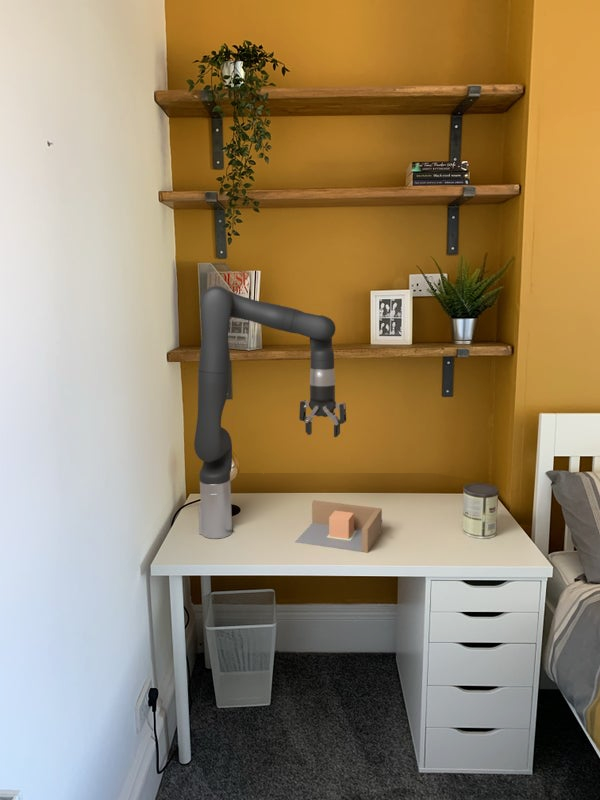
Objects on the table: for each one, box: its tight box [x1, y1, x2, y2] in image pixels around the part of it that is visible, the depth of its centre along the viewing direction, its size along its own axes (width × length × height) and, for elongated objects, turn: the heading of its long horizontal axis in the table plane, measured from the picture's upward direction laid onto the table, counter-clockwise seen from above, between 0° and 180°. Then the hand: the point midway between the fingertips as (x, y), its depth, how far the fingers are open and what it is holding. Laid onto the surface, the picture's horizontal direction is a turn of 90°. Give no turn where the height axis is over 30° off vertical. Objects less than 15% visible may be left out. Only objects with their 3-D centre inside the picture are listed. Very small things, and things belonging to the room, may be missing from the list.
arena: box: [294, 500, 383, 554], centre depth 186 cm, size 22×17×8 cm
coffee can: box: [461, 482, 500, 540], centre depth 189 cm, size 10×10×14 cm
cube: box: [329, 511, 354, 539], centre depth 187 cm, size 6×6×6 cm
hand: (322, 435), depth 189 cm, fingers open, 8 cm apart
